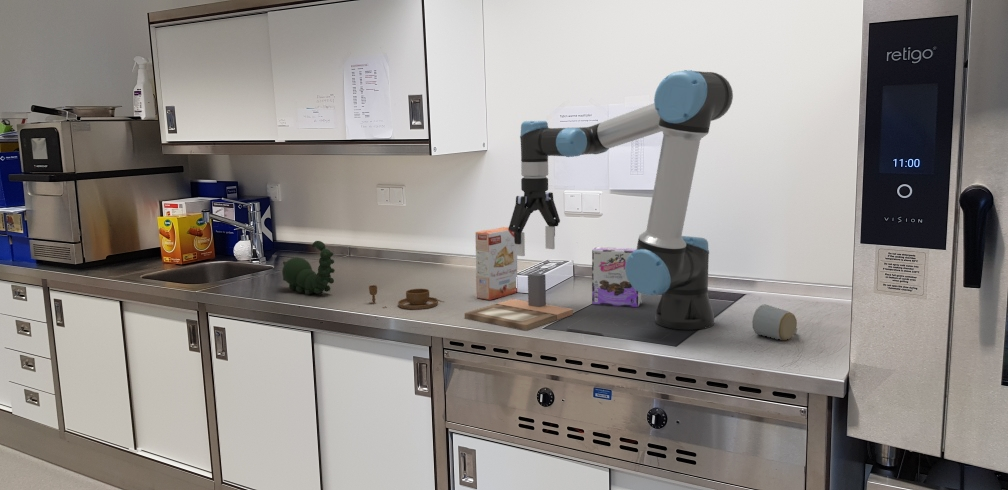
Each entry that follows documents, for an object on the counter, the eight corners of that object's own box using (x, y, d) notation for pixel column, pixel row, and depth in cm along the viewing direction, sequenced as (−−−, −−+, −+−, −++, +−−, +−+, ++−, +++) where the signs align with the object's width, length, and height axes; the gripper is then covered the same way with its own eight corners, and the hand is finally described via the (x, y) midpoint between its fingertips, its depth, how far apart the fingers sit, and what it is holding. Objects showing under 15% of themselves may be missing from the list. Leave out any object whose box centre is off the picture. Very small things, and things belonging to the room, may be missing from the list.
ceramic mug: (780, 344, 180) (782, 312, 178) (750, 337, 186) (752, 306, 185) (805, 336, 186) (807, 305, 185) (776, 330, 192) (777, 300, 191)
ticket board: (556, 320, 206) (556, 314, 206) (526, 330, 197) (526, 324, 196) (495, 308, 221) (495, 303, 220) (464, 318, 211) (464, 312, 211)
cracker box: (490, 301, 231) (488, 232, 227) (475, 298, 234) (473, 231, 231) (519, 292, 241) (517, 227, 238) (504, 290, 245) (502, 226, 242)
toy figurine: (341, 298, 246) (295, 283, 262) (341, 241, 242) (294, 229, 258) (317, 304, 239) (271, 288, 255) (317, 245, 235) (270, 232, 251)
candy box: (591, 304, 223) (591, 249, 221) (596, 300, 229) (596, 246, 226) (638, 307, 218) (638, 251, 216) (642, 302, 224) (642, 247, 221)
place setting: (407, 315, 218) (406, 295, 217) (365, 305, 231) (364, 286, 230) (452, 304, 230) (452, 285, 229) (411, 295, 244) (410, 277, 243)
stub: (573, 314, 212) (572, 277, 210) (557, 319, 207) (556, 282, 205) (512, 303, 226) (512, 269, 225) (496, 308, 221) (495, 273, 219)
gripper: (551, 173, 223) (551, 244, 227) (494, 179, 205) (496, 257, 208) (571, 174, 219) (572, 247, 222) (516, 180, 200) (517, 260, 203)
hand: (535, 252), depth 215 cm, fingers open, 13 cm apart
